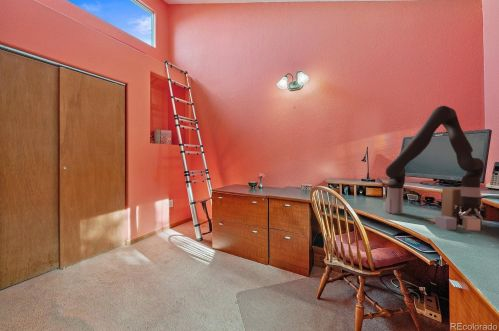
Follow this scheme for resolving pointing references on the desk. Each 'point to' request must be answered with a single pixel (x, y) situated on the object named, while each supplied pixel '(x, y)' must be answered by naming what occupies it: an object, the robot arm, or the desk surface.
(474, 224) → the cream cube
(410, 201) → the desk surface
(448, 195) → the wooden block
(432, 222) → the tile
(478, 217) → the robot arm
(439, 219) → the mauve cube
